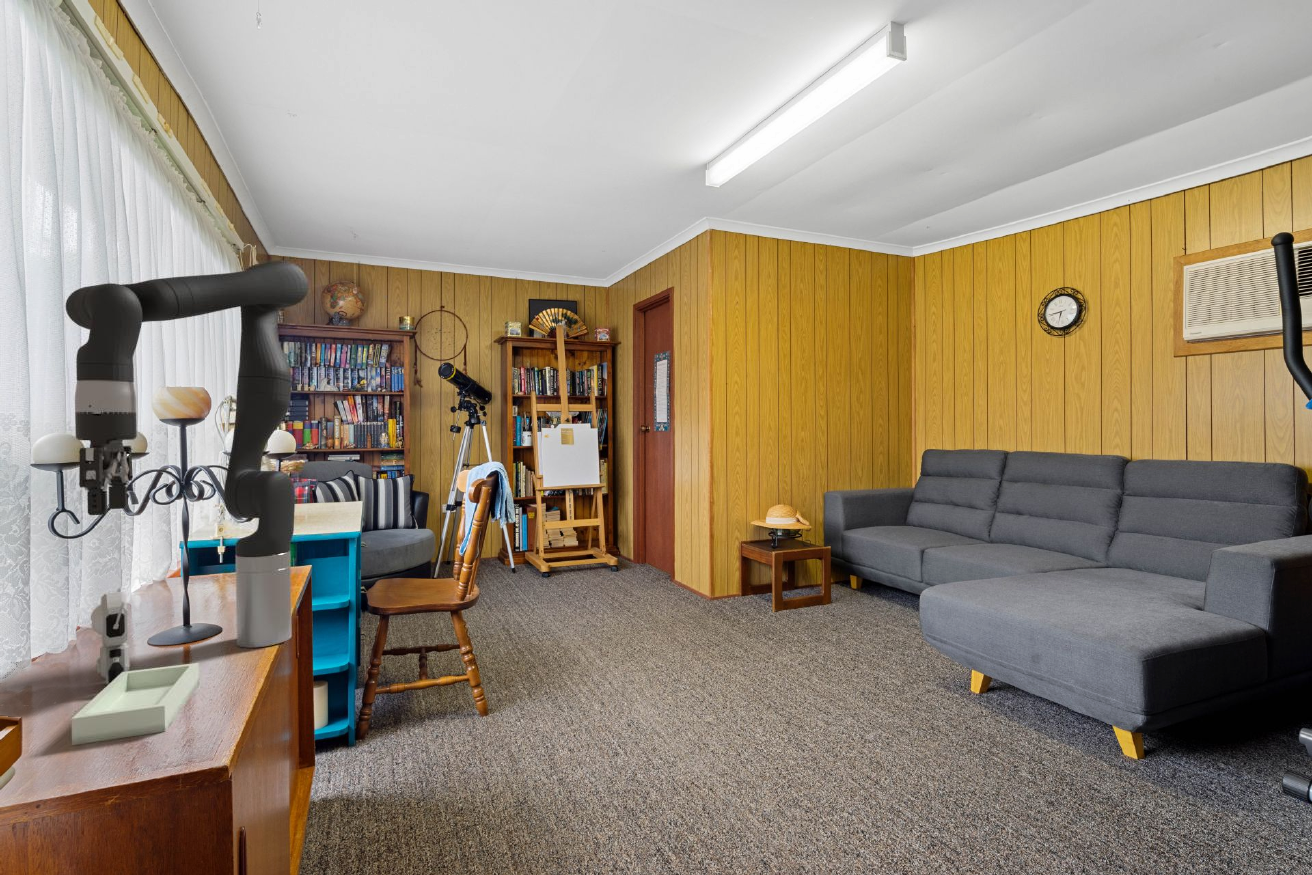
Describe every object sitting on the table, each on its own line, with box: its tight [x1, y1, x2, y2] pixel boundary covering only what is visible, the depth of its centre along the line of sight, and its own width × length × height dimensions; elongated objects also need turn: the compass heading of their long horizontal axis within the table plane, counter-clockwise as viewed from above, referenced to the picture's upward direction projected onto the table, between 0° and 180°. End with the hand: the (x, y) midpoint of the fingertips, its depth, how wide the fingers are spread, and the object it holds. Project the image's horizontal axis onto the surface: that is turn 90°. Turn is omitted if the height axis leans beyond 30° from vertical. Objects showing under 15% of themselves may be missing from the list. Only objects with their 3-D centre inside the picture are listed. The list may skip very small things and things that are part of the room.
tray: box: [71, 662, 200, 746], centre depth 96 cm, size 18×10×4 cm, turn 23°
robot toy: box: [90, 588, 130, 685], centre depth 105 cm, size 12×4×15 cm, turn 42°
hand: (108, 511), depth 105 cm, fingers open, 8 cm apart
